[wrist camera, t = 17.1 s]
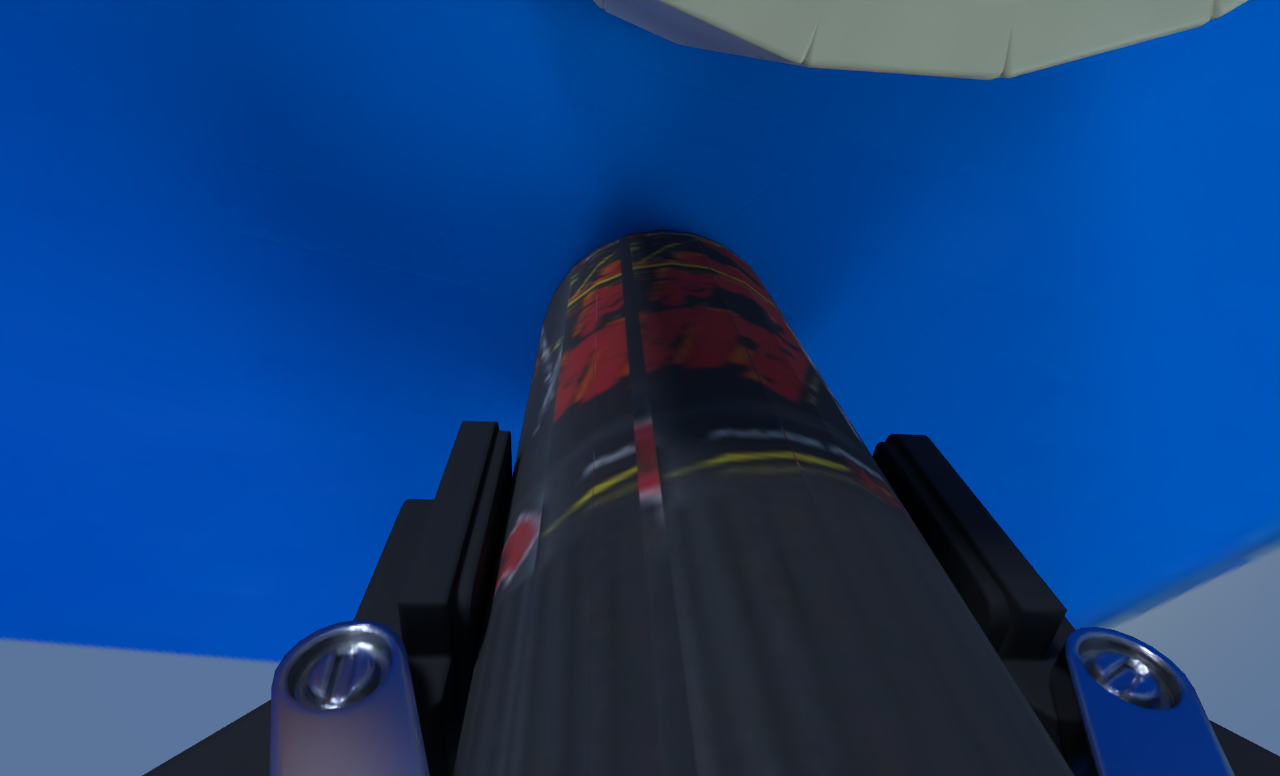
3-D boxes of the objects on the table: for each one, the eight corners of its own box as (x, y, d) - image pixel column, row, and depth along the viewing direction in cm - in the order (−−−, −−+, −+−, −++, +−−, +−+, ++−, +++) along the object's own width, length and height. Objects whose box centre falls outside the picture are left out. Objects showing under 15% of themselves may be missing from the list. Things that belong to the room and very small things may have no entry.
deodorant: (823, 342, 17) (1535, 1343, 4) (658, 482, 19) (782, 1497, 6) (661, 175, 15) (1059, 1134, 2) (492, 350, 17) (108, 1471, 4)
